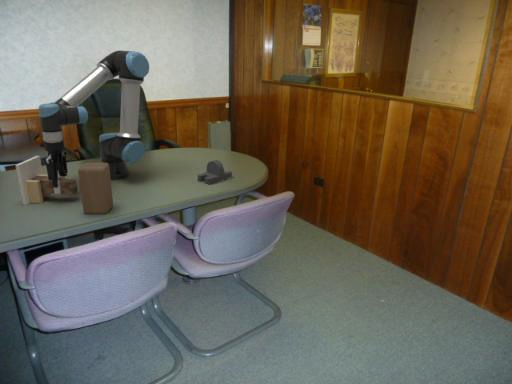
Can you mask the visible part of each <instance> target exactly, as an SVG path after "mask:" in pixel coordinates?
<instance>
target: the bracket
mask: <svg viewBox="0 0 512 384" xmlns="http://www.w3.org/2000/svg"><path fill="white" fill-rule="evenodd" d="M230 177H232V178H233V172H232V171H231V170H227V171H225V168H224V164H223V163H222V162H221V161H220V160H218V159H214V160H210V161H208V162H207V164H206V172H202V173H198V174H197V182H199V183H202V181H203V183H204V185H207V184H208V186H211V185H214V184H218V183H220V182H219V181H221V182H223V181H222V180H224V181H226V180H225V179H227V180H229V179H228V178H230ZM230 179H231V178H230ZM217 182H218V183H217Z"/></svg>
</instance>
